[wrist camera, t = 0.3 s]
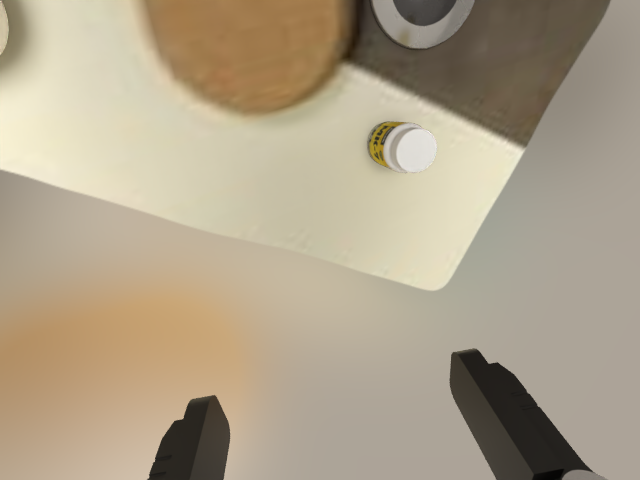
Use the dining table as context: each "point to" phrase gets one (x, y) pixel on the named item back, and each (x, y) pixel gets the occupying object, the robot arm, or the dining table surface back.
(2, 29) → the lidded jar
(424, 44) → the flange fitting
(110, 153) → the dining table surface
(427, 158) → the supplement bottle
